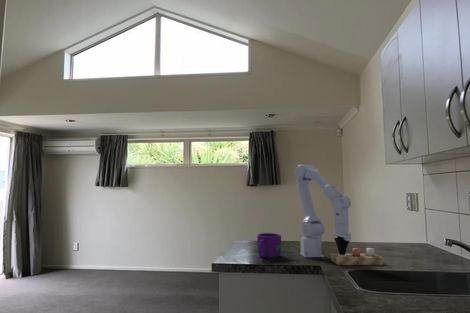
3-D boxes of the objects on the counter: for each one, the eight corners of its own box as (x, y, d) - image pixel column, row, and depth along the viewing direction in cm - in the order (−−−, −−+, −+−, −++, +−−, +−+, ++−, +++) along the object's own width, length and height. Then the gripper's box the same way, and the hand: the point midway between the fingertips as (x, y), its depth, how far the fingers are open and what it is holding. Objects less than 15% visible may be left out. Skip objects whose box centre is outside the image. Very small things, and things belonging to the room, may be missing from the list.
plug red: (354, 256, 145) (354, 249, 145) (351, 255, 148) (351, 248, 148) (361, 256, 145) (361, 249, 145) (358, 255, 148) (358, 247, 148)
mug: (263, 252, 166) (263, 232, 166) (284, 255, 160) (284, 234, 161) (247, 259, 150) (247, 237, 151) (271, 262, 145) (271, 239, 146)
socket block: (337, 265, 141) (337, 257, 142) (331, 260, 149) (331, 253, 150) (383, 264, 143) (382, 257, 143) (374, 260, 151) (373, 253, 151)
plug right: (368, 256, 145) (368, 249, 145) (365, 255, 148) (365, 247, 149) (375, 256, 145) (375, 249, 146) (372, 255, 148) (372, 247, 149)
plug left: (340, 262, 144) (339, 255, 144) (337, 261, 147) (337, 253, 147) (347, 262, 144) (347, 255, 144) (344, 261, 147) (344, 253, 148)
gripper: (357, 225, 140) (358, 258, 139) (343, 221, 154) (344, 251, 153) (341, 225, 139) (341, 258, 138) (329, 221, 154) (329, 251, 153)
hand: (342, 254), depth 146 cm, fingers closed, pressing on plug left
